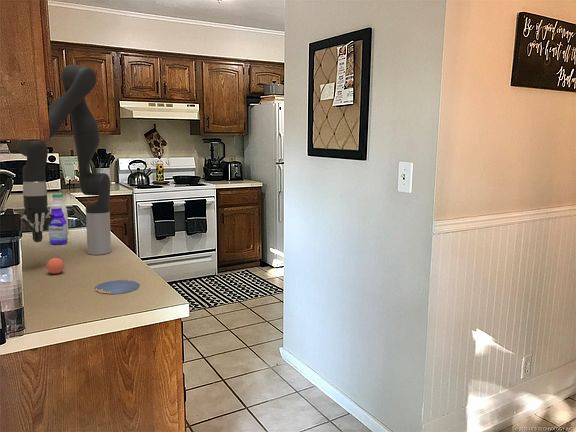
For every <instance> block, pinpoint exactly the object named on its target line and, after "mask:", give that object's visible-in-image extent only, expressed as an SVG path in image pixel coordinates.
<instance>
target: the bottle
mask: <svg viewBox="0 0 576 432" xmlns="http://www.w3.org/2000/svg"><path fill="white" fill-rule="evenodd" d="M50 208H51V214H52V215H54V218H53V220H52V221H51V223H50V224H49V226H48V237H49V239H48V240H49V242H50V245H54V246H57V245H65V244H66V243H68V234H67V224H66V220H65V218H64V214H63V212H62V207H61V205H52V204H51V206H50Z"/></svg>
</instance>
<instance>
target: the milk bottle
mask: <svg viewBox="0 0 576 432" xmlns="http://www.w3.org/2000/svg"><path fill="white" fill-rule="evenodd" d="M51 196H52V203H51V205H61V207H62V212H63V214H64V218H65V220H66V224H67V235H69V221H68V220H69V219H68V210H67V206H66V205H65V203H64V200H63V199H64V194H63V193H52V195H51ZM49 213H50V214H51V207H50V209H49Z"/></svg>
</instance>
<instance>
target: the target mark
mask: <svg viewBox="0 0 576 432" xmlns="http://www.w3.org/2000/svg"><path fill="white" fill-rule="evenodd" d="M139 286H141V285H140V283H139V282H136V281H134V280H129V279H128V280H126V279H122V280H121V279H120V280H110V281H106V282H102V283H98V284H97V285H95V286H94V289H96V288H97V289H98V290H99V289H100V290H101V289H103V291H106V292H107V291H108V292H109V291H111V292H112V294H111V295H121V294H120V293H123V294H127V292H128V293H131V292H130V291H132V292H134V291H137V290H138V289H139V288H140V287H139ZM138 287H139V288H138ZM137 288H138V289H137ZM94 289H93V290H94ZM133 290H134V291H133ZM111 292H110V293H111ZM113 293H114V294H113Z"/></svg>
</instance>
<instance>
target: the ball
mask: <svg viewBox="0 0 576 432" xmlns="http://www.w3.org/2000/svg"><path fill="white" fill-rule="evenodd" d="M64 268H65V263H64V260H63V259H61V258H60V257H59V258H58V257H54V258H53V257H52V258H51V259H49V260H48V261H47V263H46V270H47V271H48V272H49V273H51V274H54V275H55V274H57V275H58V274H60V273H61V272H63V270H64Z"/></svg>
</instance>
